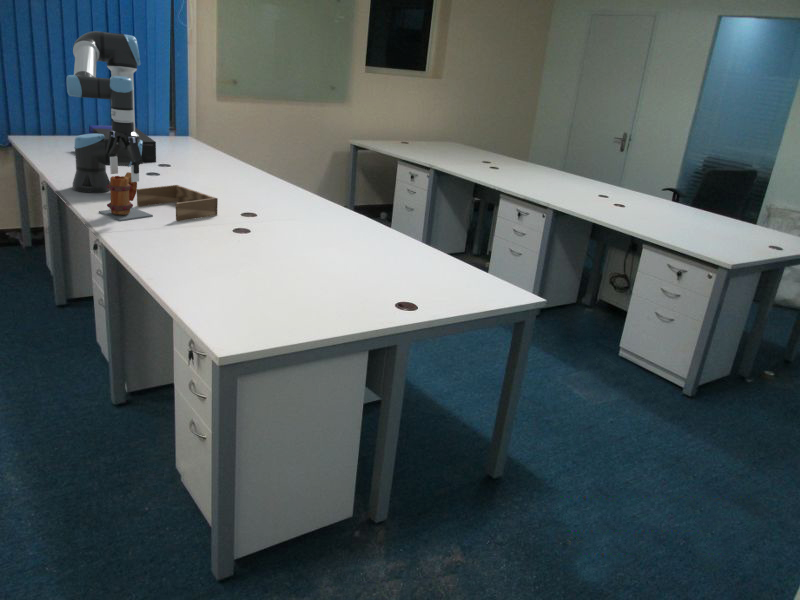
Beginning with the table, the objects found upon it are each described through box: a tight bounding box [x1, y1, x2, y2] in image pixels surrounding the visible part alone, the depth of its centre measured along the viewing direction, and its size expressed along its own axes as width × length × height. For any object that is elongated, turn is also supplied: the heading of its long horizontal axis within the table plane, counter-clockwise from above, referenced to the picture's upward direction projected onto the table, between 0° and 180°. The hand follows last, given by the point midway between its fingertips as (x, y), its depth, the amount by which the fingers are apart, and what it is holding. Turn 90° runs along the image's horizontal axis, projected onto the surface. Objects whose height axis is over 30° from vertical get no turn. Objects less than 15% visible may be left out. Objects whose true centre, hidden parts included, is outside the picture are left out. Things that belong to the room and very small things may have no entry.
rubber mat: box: [98, 206, 153, 222], centre depth 251 cm, size 14×14×1 cm
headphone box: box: [88, 124, 157, 163], centre depth 351 cm, size 25×35×14 cm
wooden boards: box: [136, 184, 219, 222], centre depth 263 cm, size 26×19×7 cm
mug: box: [106, 172, 138, 215], centre depth 248 cm, size 15×8×15 cm, turn 167°
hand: (124, 177), depth 246 cm, fingers open, 13 cm apart
